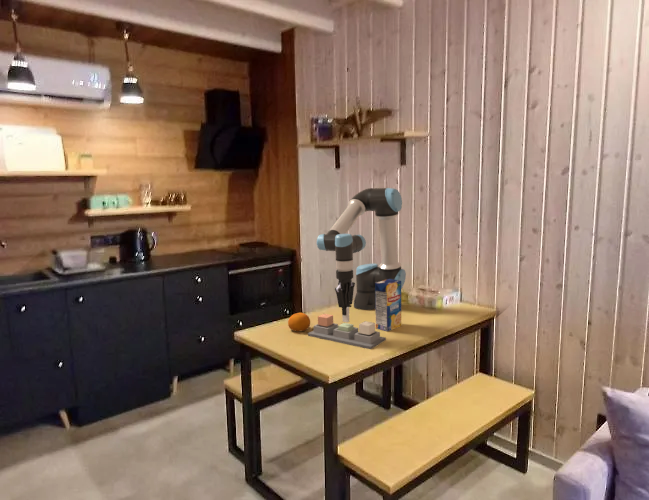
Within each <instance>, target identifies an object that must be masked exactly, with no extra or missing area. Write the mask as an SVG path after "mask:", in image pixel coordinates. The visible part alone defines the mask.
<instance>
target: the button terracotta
mask: <svg viewBox="0 0 649 500" xmlns="http://www.w3.org/2000/svg"><path fill="white" fill-rule="evenodd" d="M333 323H334V315H333V314H328V313H323V314H320V315H318V316H317V324H318V325H321V326H326V327H327V326H330V325H332V324H333Z"/></svg>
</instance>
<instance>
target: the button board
mask: <svg viewBox="0 0 649 500" xmlns="http://www.w3.org/2000/svg"><path fill="white" fill-rule="evenodd" d="M338 325H339V323H334V322H333V324H332V325H330V326H327V327H326V326H321V325H318V323H317V324H314V325H313V330H312V331H309V332H307V336H308V337H311V338H317V339H322V340H325V341H326V340H327V341H331V342H335V343H340V344H344V345H348V346H352V347H359V348H363V349H367V350H372V349H374V348H375V347H377V346H379V345H380V344H382V343H384V342H385V341H386V340H387V338H386V337H384V336H381V332H380V331H376V330H375V332H374V333H372V334H370V335H366V334H361V333H359V327H355V326H354V329H353V330H351V331H349V332H345V331H340V330H338Z"/></svg>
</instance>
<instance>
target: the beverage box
mask: <svg viewBox="0 0 649 500" xmlns="http://www.w3.org/2000/svg"><path fill="white" fill-rule="evenodd" d="M374 311H375V330H379V331H383V332H384V331H385V332H390V331H393V330H394V329H397V328H400V327H402V289H401V281H399V280H393V279H387V280H384V281H380V282H377V283H375V309H374Z"/></svg>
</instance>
